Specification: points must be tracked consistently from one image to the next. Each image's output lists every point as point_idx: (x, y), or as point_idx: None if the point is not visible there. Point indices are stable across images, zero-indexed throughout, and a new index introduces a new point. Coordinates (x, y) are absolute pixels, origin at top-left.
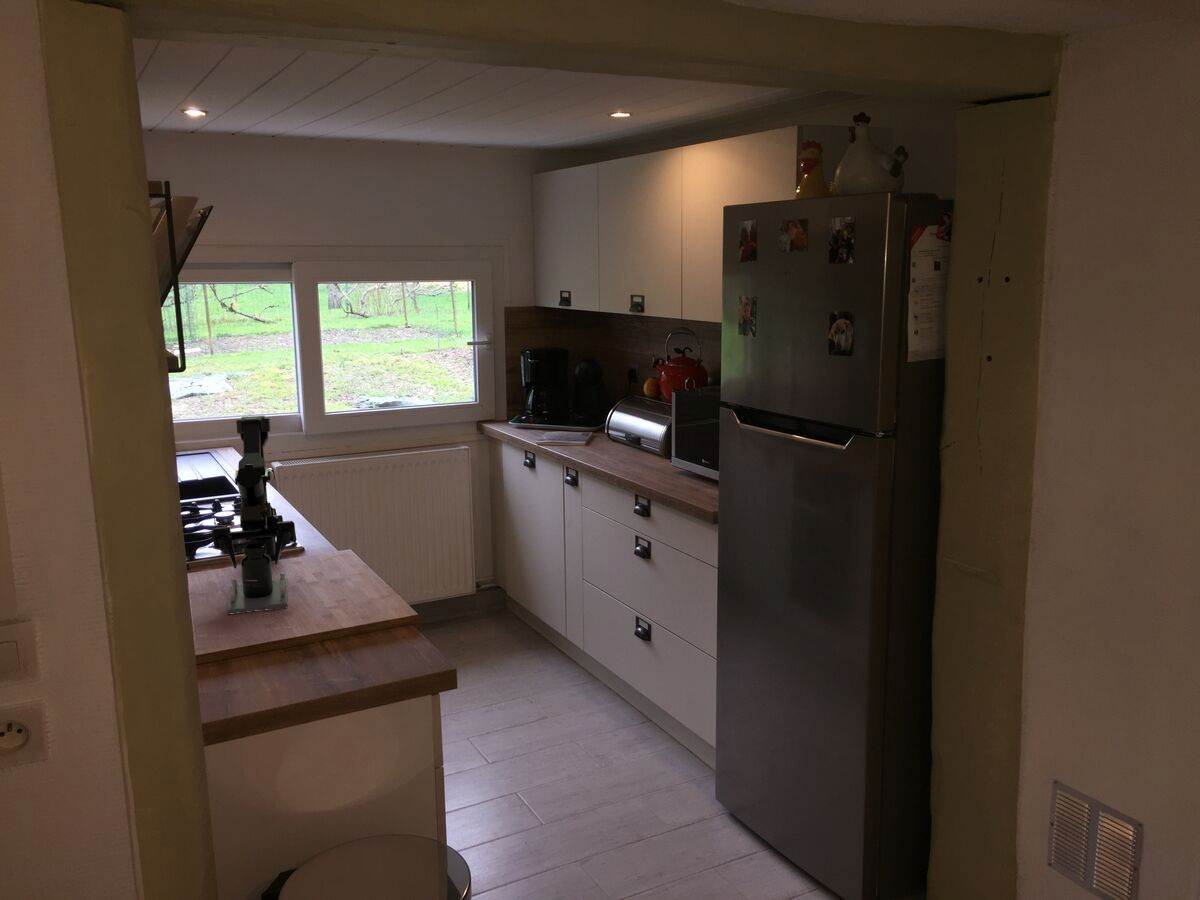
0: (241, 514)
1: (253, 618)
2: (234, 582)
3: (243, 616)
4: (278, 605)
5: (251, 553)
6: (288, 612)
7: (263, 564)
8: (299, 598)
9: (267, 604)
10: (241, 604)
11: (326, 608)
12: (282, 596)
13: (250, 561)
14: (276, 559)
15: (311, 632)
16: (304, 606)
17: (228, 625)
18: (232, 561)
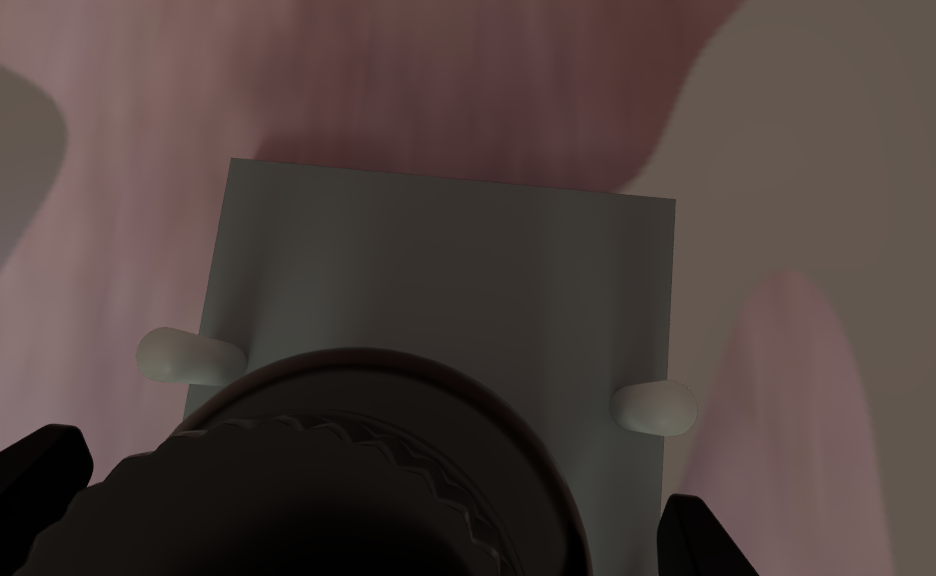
0: None
1: (490, 68)
2: None
3: (555, 137)
4: (297, 167)
5: (388, 434)
6: (253, 83)
7: (257, 369)
8: (124, 352)
9: (372, 193)
10: (567, 282)
11: (4, 51)
12: (236, 334)
13: (439, 394)
14: (24, 450)
15: None
16: (129, 155)
17: (655, 8)
18: (749, 570)
